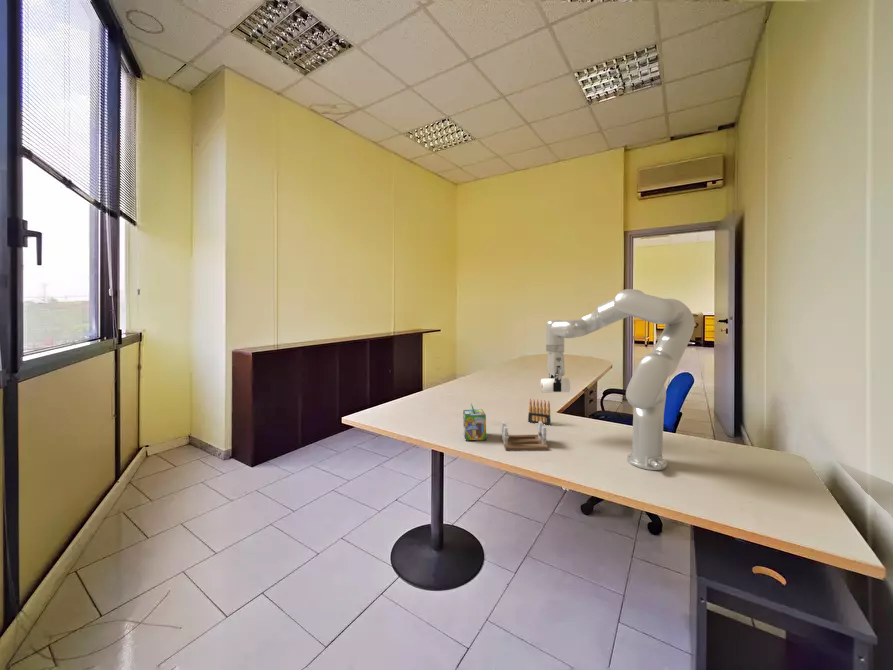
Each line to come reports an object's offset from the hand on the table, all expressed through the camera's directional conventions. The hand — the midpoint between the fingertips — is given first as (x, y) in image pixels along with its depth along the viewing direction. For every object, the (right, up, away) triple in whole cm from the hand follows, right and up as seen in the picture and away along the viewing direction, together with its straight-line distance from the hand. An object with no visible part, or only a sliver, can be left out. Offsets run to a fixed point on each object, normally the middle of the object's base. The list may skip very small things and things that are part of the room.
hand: (554, 389), depth 152 cm
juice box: (-35, -22, +3) cm, 41 cm away
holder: (-15, -22, -5) cm, 27 cm away
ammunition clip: (-2, -20, +20) cm, 28 cm away
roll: (0, -1, 0) cm, 1 cm away
